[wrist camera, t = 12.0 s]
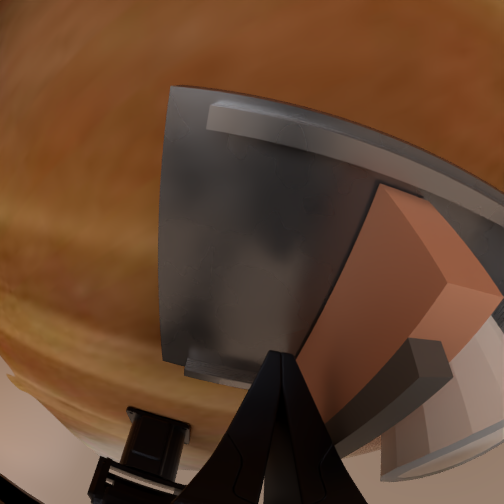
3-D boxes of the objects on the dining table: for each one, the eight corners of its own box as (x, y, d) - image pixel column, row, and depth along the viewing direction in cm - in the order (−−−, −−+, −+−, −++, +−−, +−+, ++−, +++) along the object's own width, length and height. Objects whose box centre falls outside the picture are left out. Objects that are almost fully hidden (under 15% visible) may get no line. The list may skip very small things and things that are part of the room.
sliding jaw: (320, 380, 14) (322, 478, 10) (286, 376, 14) (280, 477, 10) (428, 201, 8) (523, 330, 3) (380, 183, 8) (468, 323, 3)
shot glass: (407, 250, 10) (479, 425, 4) (505, 282, 10) (564, 395, 4) (338, 358, 14) (345, 490, 8) (435, 367, 14) (458, 469, 8)
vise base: (449, 383, 17) (465, 448, 12) (167, 347, 16) (137, 435, 11) (562, 235, 9) (615, 302, 4) (181, 84, 8) (58, 110, 3)
